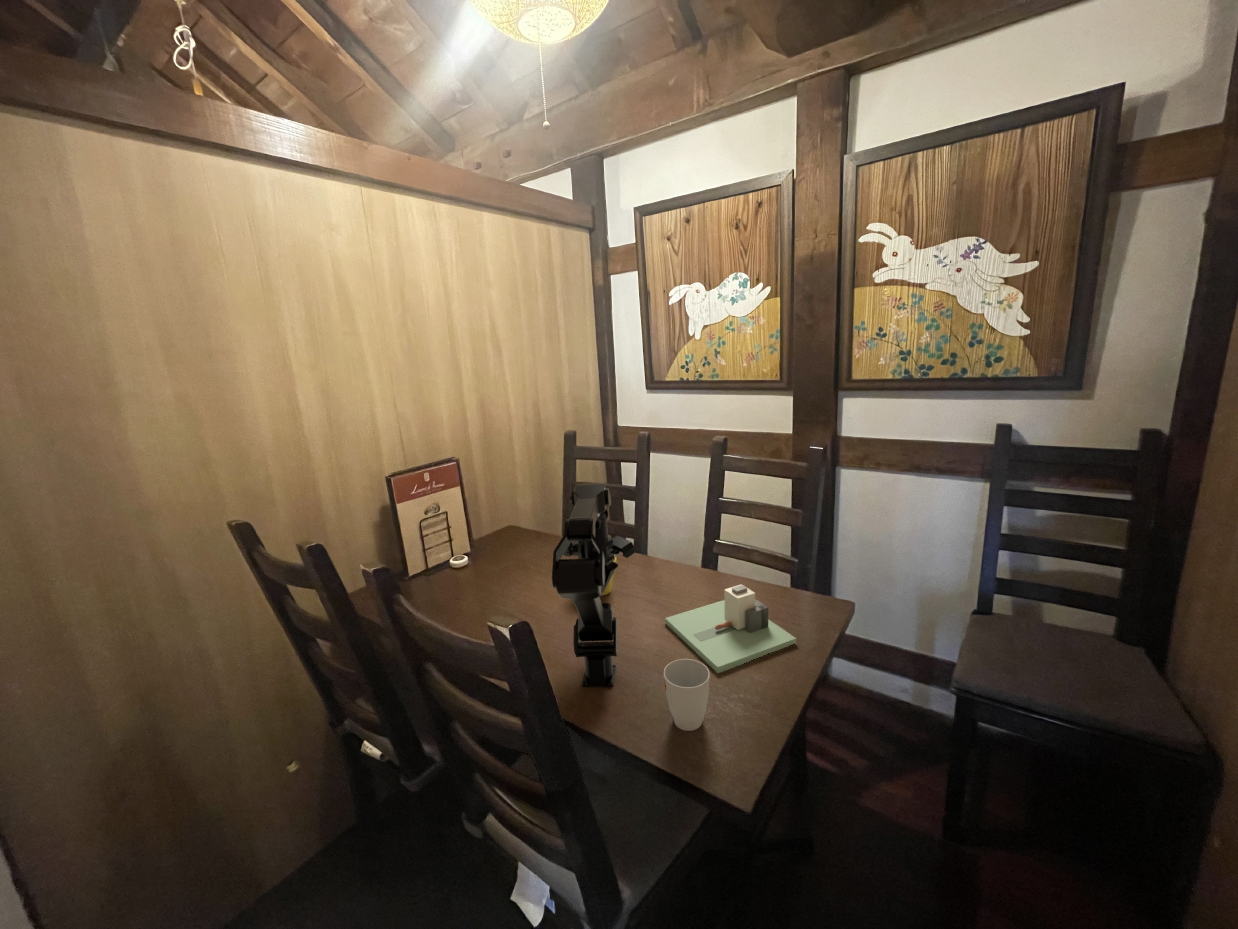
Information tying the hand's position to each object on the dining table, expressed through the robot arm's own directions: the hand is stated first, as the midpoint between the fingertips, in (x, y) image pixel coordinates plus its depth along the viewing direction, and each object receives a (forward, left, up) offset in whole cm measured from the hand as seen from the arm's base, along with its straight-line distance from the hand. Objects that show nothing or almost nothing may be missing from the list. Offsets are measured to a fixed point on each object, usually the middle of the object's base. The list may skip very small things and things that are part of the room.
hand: (601, 591), depth 116 cm
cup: (-27, -19, -12) cm, 35 cm away
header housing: (+4, -34, -10) cm, 36 cm away
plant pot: (+23, +4, -12) cm, 27 cm away
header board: (+2, -29, -12) cm, 31 cm away
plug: (+2, -30, -10) cm, 32 cm away
